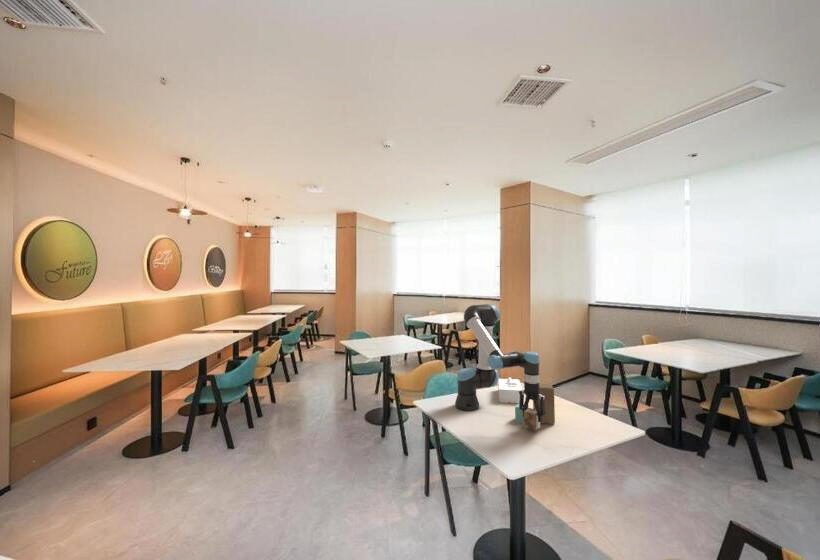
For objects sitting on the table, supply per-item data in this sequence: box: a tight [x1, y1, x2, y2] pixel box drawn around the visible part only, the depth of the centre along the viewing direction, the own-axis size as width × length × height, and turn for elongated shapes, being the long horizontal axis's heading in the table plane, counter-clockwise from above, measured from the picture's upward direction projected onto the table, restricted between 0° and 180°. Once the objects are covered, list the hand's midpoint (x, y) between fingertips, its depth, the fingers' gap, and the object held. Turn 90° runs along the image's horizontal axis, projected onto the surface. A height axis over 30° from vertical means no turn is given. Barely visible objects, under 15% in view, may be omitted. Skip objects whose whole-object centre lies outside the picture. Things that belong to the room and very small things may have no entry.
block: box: [532, 382, 556, 425], centre depth 187 cm, size 10×10×20 cm
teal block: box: [514, 403, 529, 424], centre depth 188 cm, size 6×6×8 cm
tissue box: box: [497, 377, 523, 404], centre depth 229 cm, size 14×25×11 cm, turn 167°
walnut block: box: [523, 407, 538, 430], centre depth 175 cm, size 6×6×8 cm
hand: (532, 425), depth 175 cm, fingers closed on walnut block, 6 cm apart
